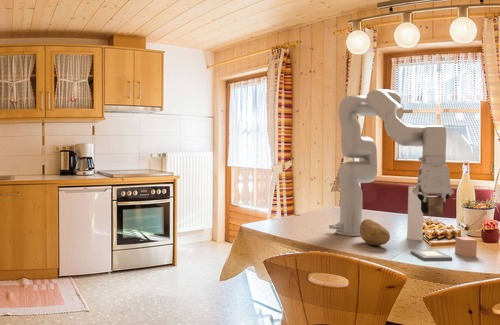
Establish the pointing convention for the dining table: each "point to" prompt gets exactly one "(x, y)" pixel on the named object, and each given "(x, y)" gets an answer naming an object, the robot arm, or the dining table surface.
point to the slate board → (430, 255)
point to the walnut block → (435, 205)
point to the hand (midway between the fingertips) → (432, 212)
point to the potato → (373, 233)
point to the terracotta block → (465, 246)
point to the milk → (414, 217)
